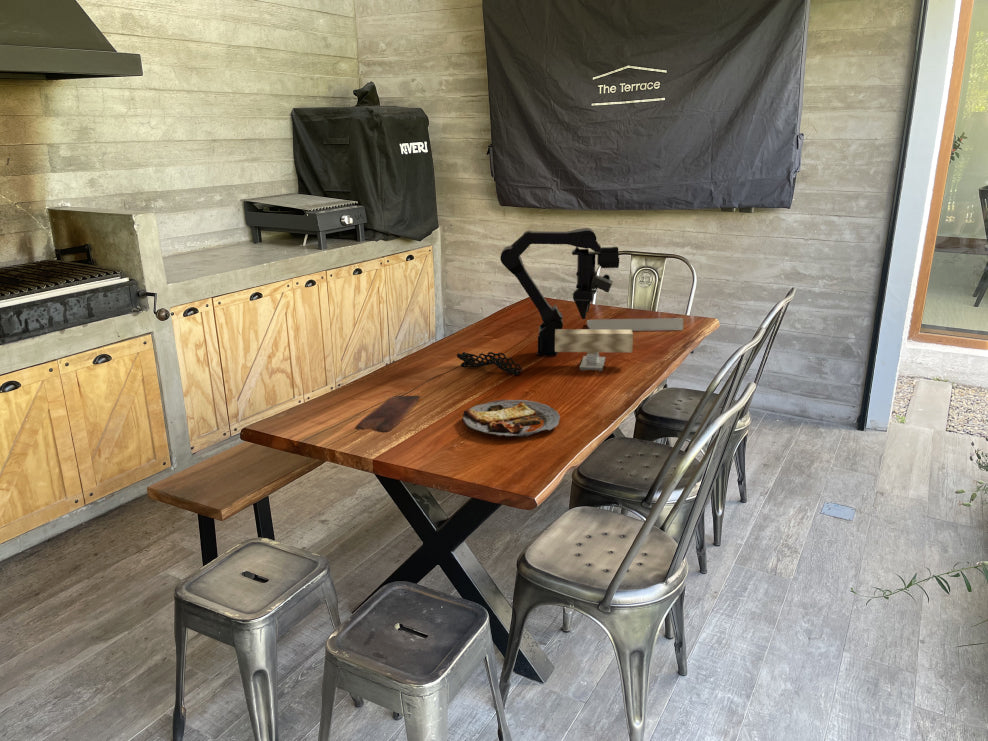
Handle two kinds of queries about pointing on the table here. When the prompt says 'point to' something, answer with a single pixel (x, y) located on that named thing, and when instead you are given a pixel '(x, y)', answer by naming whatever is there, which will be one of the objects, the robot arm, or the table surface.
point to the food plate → (510, 417)
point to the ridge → (592, 362)
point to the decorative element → (489, 362)
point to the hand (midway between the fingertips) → (585, 315)
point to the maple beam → (593, 340)
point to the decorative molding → (637, 324)
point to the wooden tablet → (388, 413)
